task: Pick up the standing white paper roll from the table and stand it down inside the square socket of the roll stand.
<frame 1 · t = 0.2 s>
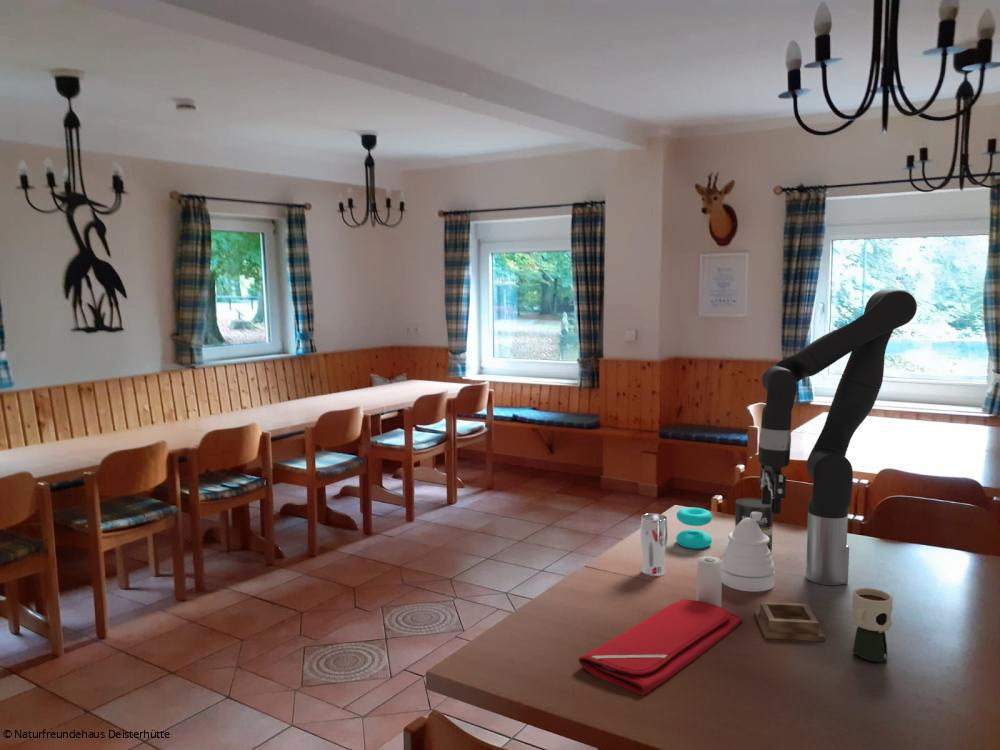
hand: (770, 508, 192), 18 cm above the table, tool pointing down, fingers open, 8 cm apart
roll: (708, 606, 176), on the table
honey pot: (747, 582, 191), on the table
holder: (788, 627, 165), on the table
character mug: (869, 657, 151), on the table
red folded cloth: (665, 648, 158), on the table
donuts: (693, 545, 220), on the table
coffee can: (753, 551, 214), on the table
beer glass: (653, 573, 198), on the table
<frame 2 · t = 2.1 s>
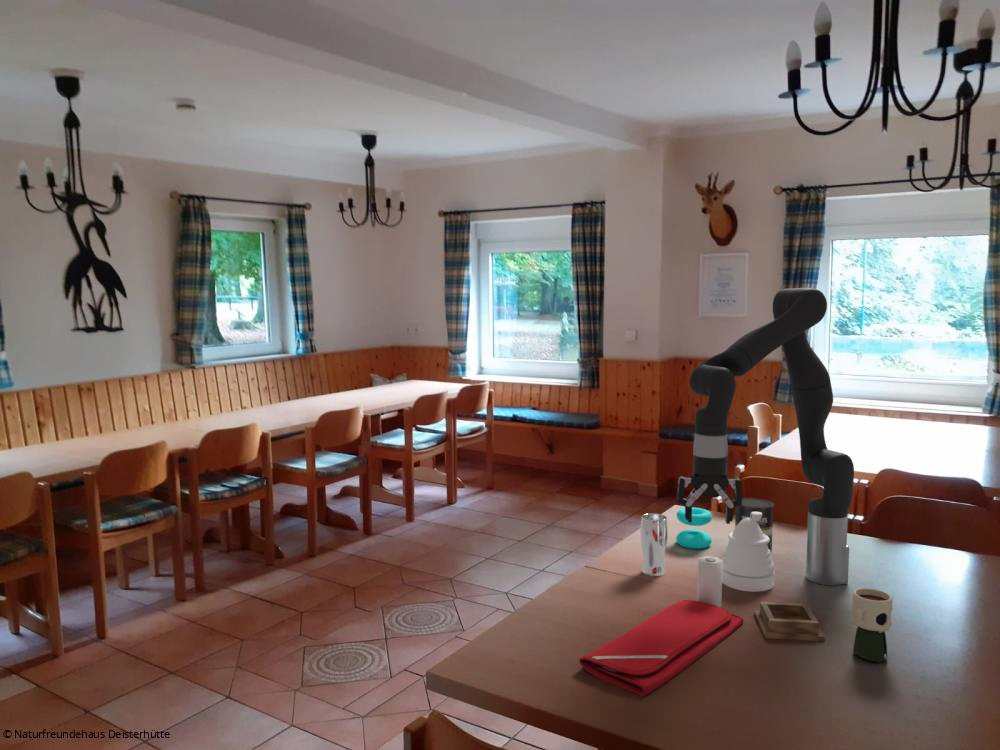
hand: (708, 522, 174), 20 cm above the table, tool pointing down, fingers open, 8 cm apart
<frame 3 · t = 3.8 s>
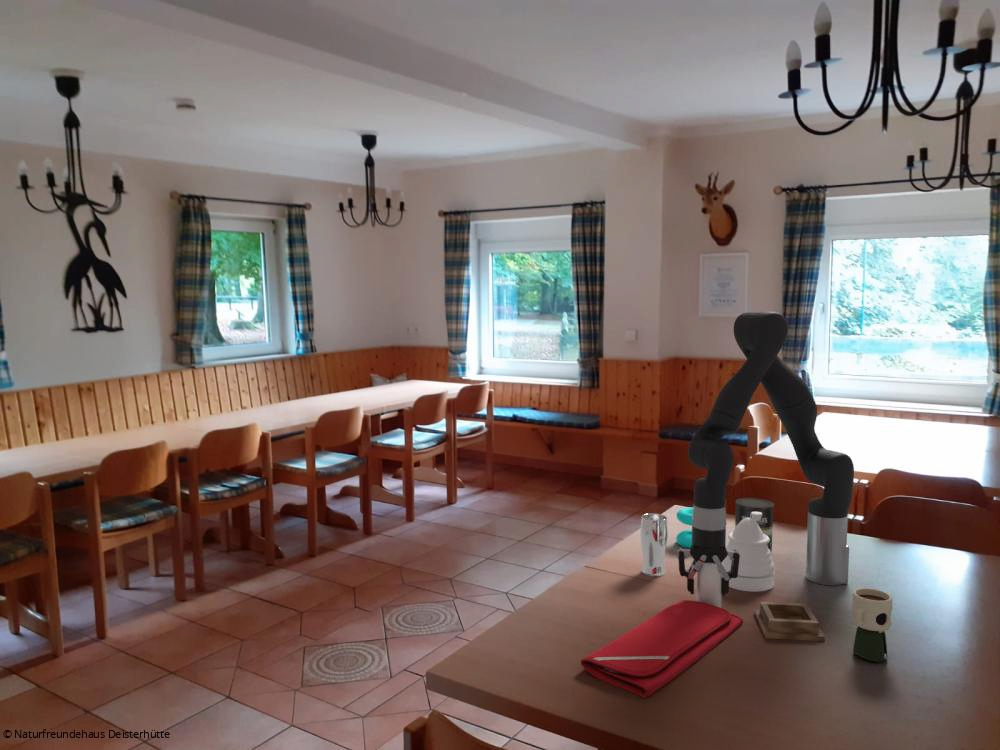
hand: (707, 593, 176), 3 cm above the table, tool pointing down, fingers open, 6 cm apart
roll: (708, 606, 176), on the table, touching gripper
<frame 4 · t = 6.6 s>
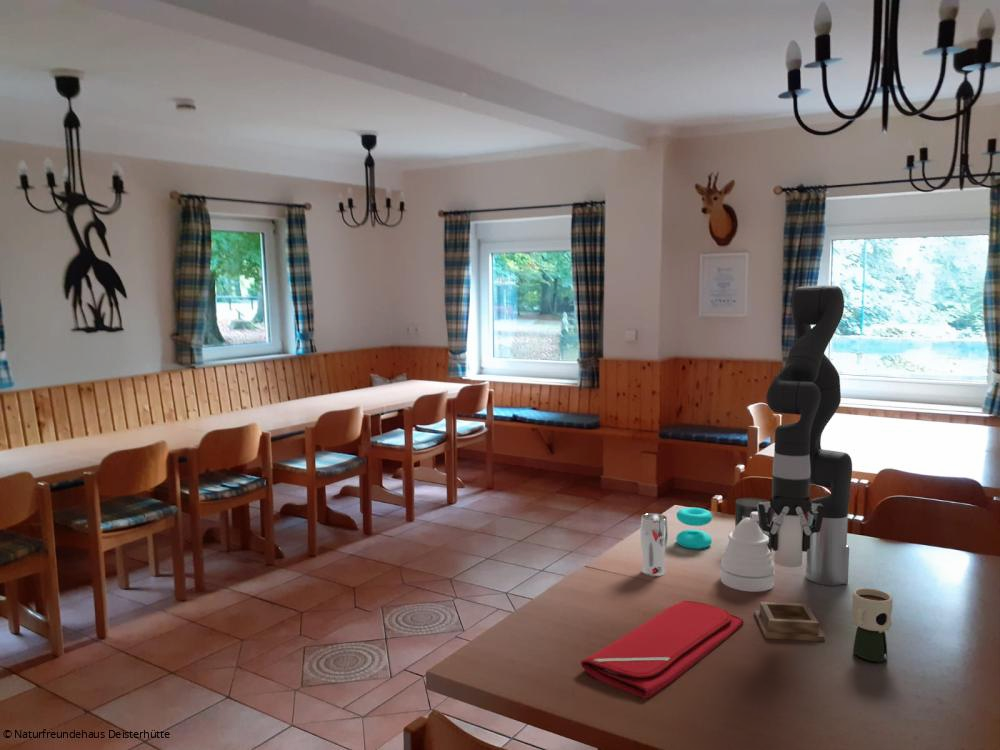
hand: (788, 549, 163), 17 cm above the table, tool pointing down, fingers closed on roll, 5 cm apart
roll: (788, 562, 164), point 14 cm above the table, touching gripper
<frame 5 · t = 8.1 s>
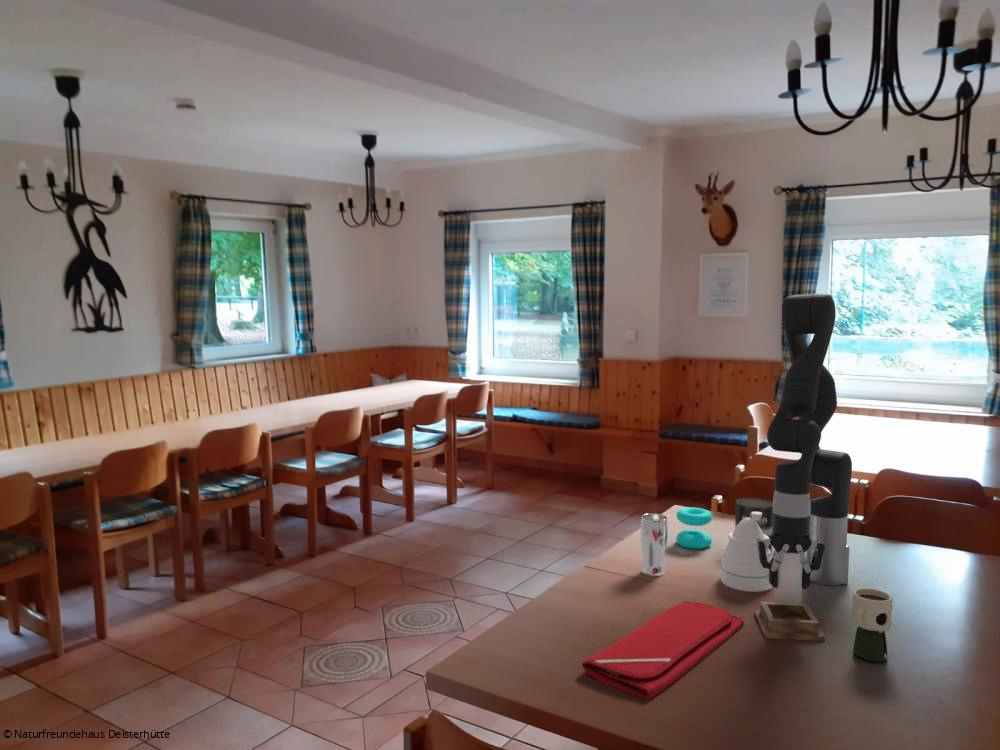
hand: (788, 586, 164), 9 cm above the table, tool pointing down, fingers closed on roll, 5 cm apart
roll: (787, 599, 165), point 6 cm above the table, touching gripper
when the fingers open (5 cm above the table, at t = 9.3 s): roll drops 1 cm, resting on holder.
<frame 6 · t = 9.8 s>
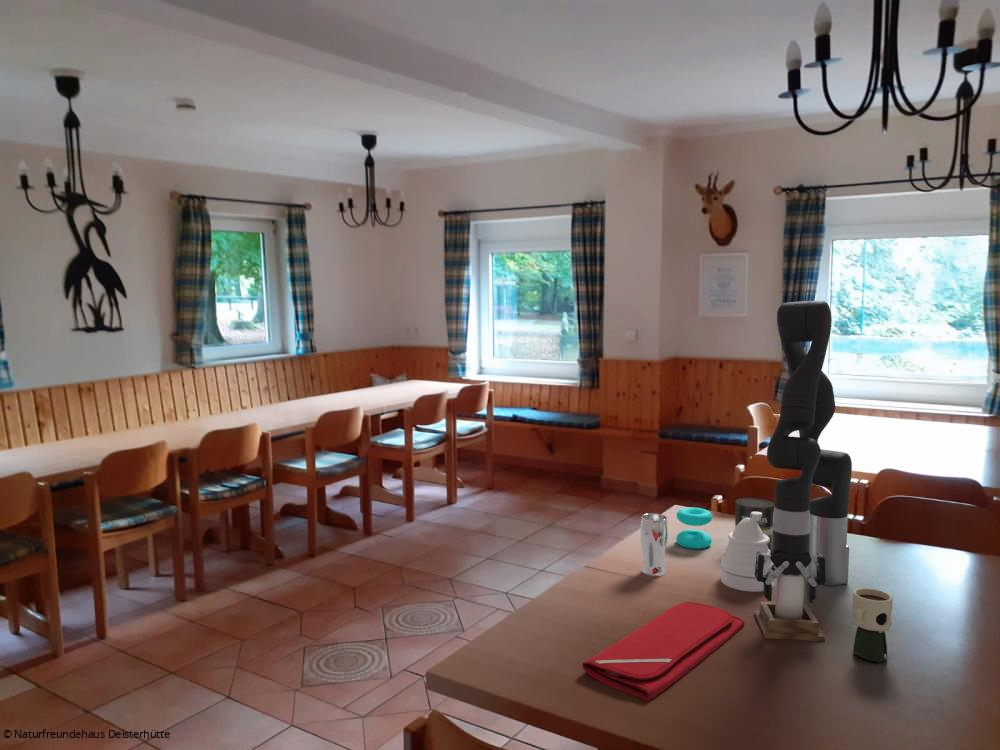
hand: (788, 600, 164), 6 cm above the table, tool pointing down, fingers open, 8 cm apart
roll: (788, 621, 165), point 1 cm above the table, touching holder
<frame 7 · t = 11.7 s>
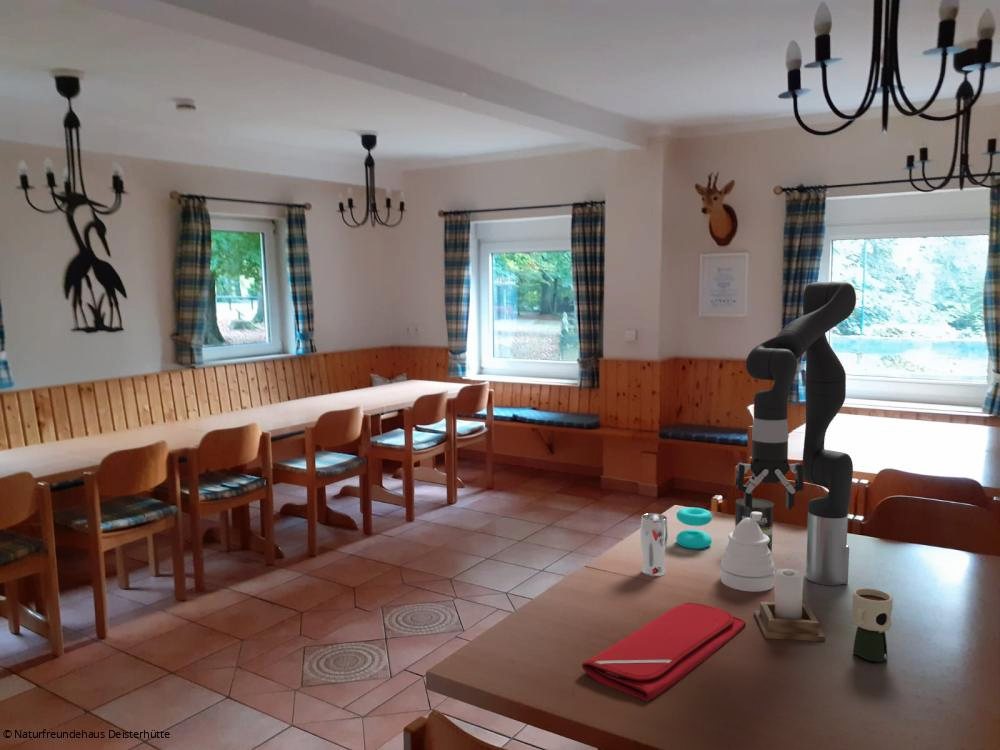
hand: (768, 508, 170), 24 cm above the table, tool pointing down, fingers open, 8 cm apart
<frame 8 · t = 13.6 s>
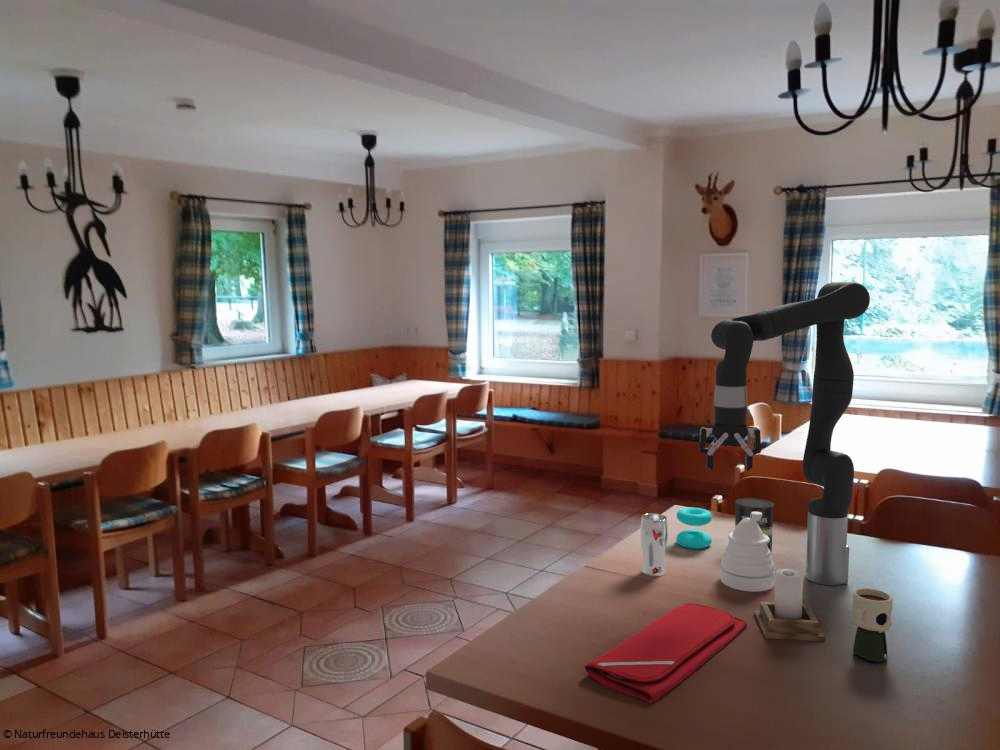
hand: (729, 470, 183), 30 cm above the table, tool pointing down, fingers open, 8 cm apart
at the end: roll 0.5 cm off-centre on the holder, point 1.1 cm above the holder's base; roll tilted 2°; the gripper is holding nothing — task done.
